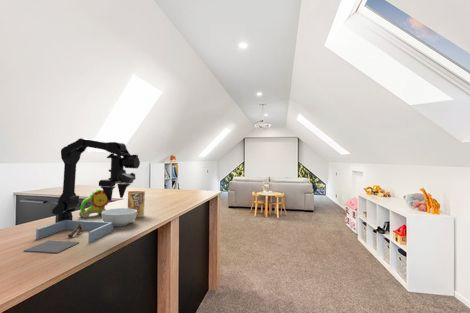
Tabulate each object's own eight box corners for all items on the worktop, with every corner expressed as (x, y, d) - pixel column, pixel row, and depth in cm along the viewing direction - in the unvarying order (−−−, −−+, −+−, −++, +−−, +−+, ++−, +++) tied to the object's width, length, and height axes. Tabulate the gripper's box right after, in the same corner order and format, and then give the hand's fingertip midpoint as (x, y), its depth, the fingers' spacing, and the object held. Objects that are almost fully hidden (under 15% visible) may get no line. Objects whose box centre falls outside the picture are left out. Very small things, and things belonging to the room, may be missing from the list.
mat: (23, 251, 88) (23, 250, 88) (48, 241, 99) (48, 240, 99) (57, 253, 87) (57, 252, 87) (79, 243, 98) (79, 242, 98)
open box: (35, 238, 102) (36, 229, 102) (65, 228, 118) (65, 219, 118) (90, 241, 100) (91, 232, 100) (112, 230, 116) (113, 222, 116)
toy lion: (82, 218, 137) (83, 191, 137) (78, 217, 140) (79, 190, 140) (110, 214, 150) (111, 189, 150) (106, 212, 153) (107, 188, 153)
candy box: (144, 215, 148) (145, 190, 148) (143, 217, 144) (144, 191, 144) (128, 215, 146) (129, 190, 147) (127, 217, 142) (128, 191, 142)
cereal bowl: (122, 230, 117) (123, 215, 117) (93, 227, 121) (93, 213, 121) (142, 221, 134) (143, 209, 134) (116, 219, 137) (116, 206, 137)
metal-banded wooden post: (85, 230, 113) (83, 222, 111) (74, 242, 106) (71, 234, 104) (81, 230, 113) (79, 222, 111) (70, 242, 106) (67, 234, 104)
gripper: (120, 169, 110) (119, 203, 110) (142, 167, 129) (140, 197, 129) (98, 168, 112) (97, 201, 112) (122, 167, 130) (121, 196, 130)
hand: (115, 199), depth 121 cm, fingers open, 9 cm apart
